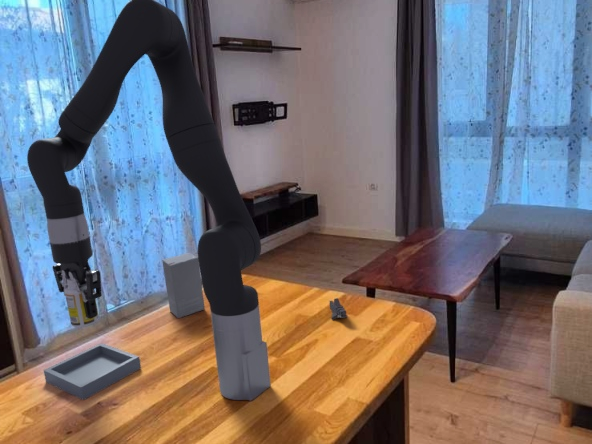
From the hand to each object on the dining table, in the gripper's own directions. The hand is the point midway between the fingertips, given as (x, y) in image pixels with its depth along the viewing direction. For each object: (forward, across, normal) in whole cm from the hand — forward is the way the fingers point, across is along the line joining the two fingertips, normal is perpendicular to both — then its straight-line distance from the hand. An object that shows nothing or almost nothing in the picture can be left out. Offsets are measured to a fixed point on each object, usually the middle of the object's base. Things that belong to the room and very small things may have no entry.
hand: (83, 314), depth 108 cm
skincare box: (+14, +8, -34) cm, 38 cm away
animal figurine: (+14, -32, -50) cm, 61 cm away
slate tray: (+14, 0, 0) cm, 14 cm away
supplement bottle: (+2, 0, 0) cm, 2 cm away
